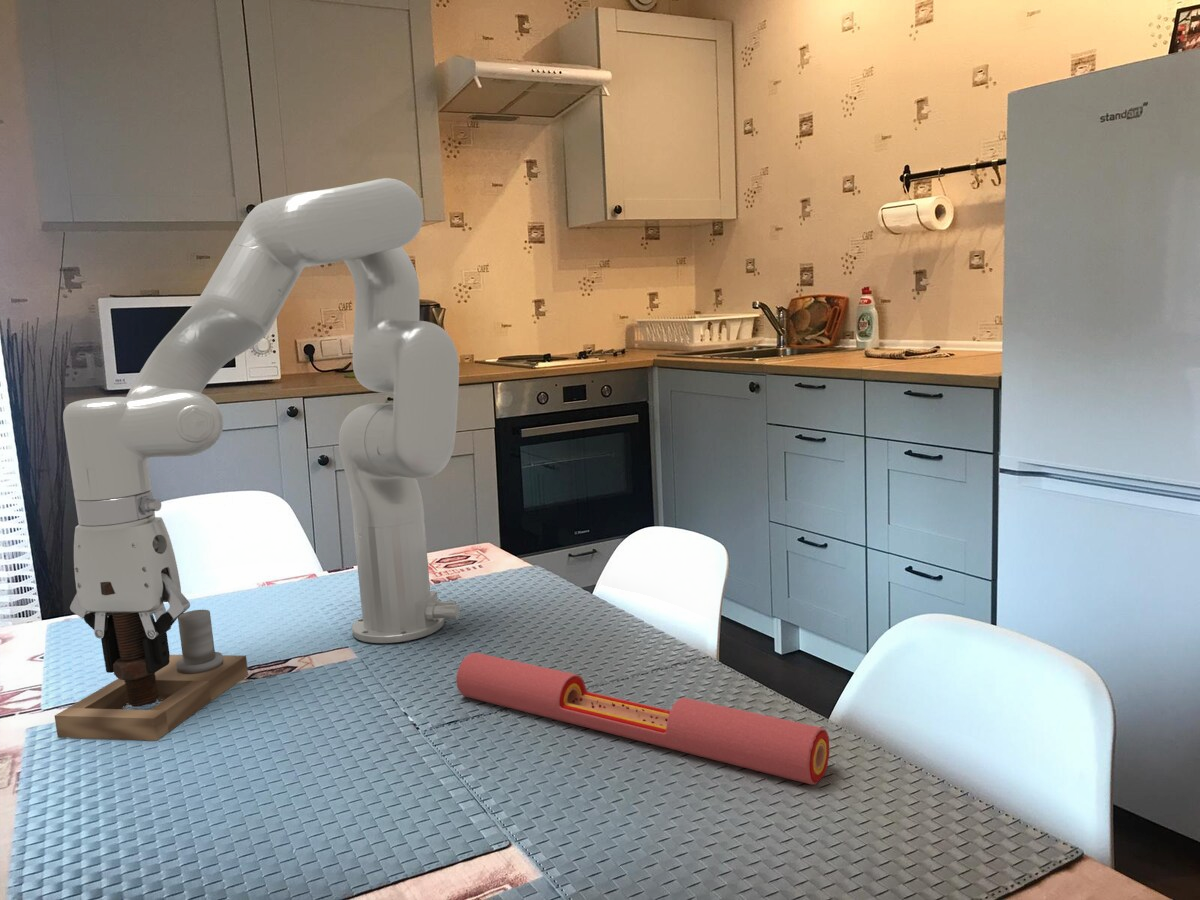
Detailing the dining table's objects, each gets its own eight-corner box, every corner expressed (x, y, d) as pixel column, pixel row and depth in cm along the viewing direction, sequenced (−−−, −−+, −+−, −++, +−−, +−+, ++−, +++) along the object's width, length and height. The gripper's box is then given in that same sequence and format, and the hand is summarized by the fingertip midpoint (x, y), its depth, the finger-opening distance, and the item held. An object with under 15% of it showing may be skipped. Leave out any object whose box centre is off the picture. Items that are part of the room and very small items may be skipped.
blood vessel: (831, 771, 86) (830, 719, 86) (810, 795, 82) (808, 741, 82) (486, 687, 110) (483, 646, 109) (457, 703, 106) (453, 661, 105)
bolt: (146, 713, 103) (123, 580, 101) (107, 714, 104) (82, 583, 102) (180, 692, 109) (158, 566, 107) (142, 693, 110) (119, 569, 108)
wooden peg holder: (248, 674, 117) (240, 605, 116) (156, 740, 100) (145, 659, 99) (161, 673, 120) (152, 605, 118) (57, 737, 102) (45, 658, 101)
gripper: (205, 501, 106) (225, 656, 108) (73, 504, 109) (95, 655, 111) (163, 516, 98) (185, 682, 101) (22, 519, 101) (48, 680, 104)
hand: (138, 666), depth 106 cm, fingers closed on bolt, 4 cm apart
